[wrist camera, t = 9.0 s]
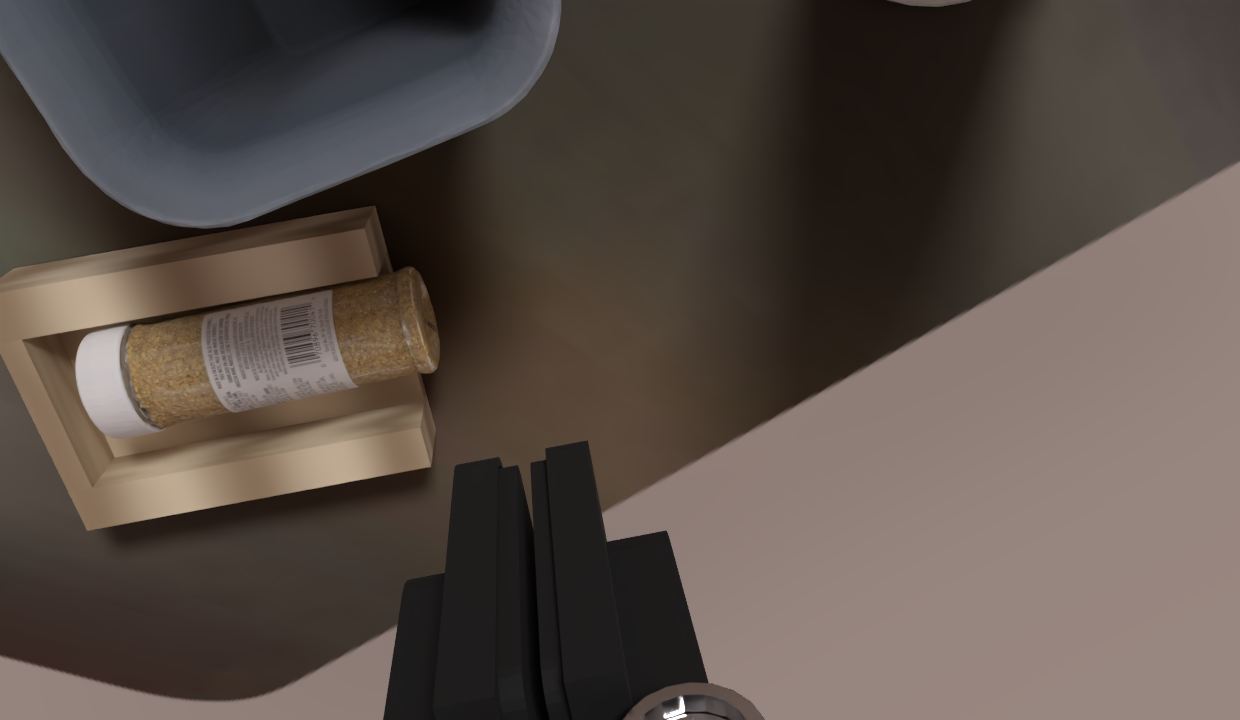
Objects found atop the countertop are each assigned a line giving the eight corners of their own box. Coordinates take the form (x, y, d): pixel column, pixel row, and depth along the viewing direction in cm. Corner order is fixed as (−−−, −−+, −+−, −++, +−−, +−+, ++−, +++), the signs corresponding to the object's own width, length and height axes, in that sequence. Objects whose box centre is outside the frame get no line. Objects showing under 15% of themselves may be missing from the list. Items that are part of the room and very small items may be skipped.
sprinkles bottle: (424, 260, 40) (112, 323, 39) (408, 269, 35) (55, 340, 35) (448, 362, 41) (143, 425, 40) (435, 383, 36) (92, 455, 36)
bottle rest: (375, 205, 39) (364, 228, 36) (435, 429, 43) (431, 466, 40) (14, 268, 38) (-28, 297, 35) (116, 488, 43) (87, 530, 40)
